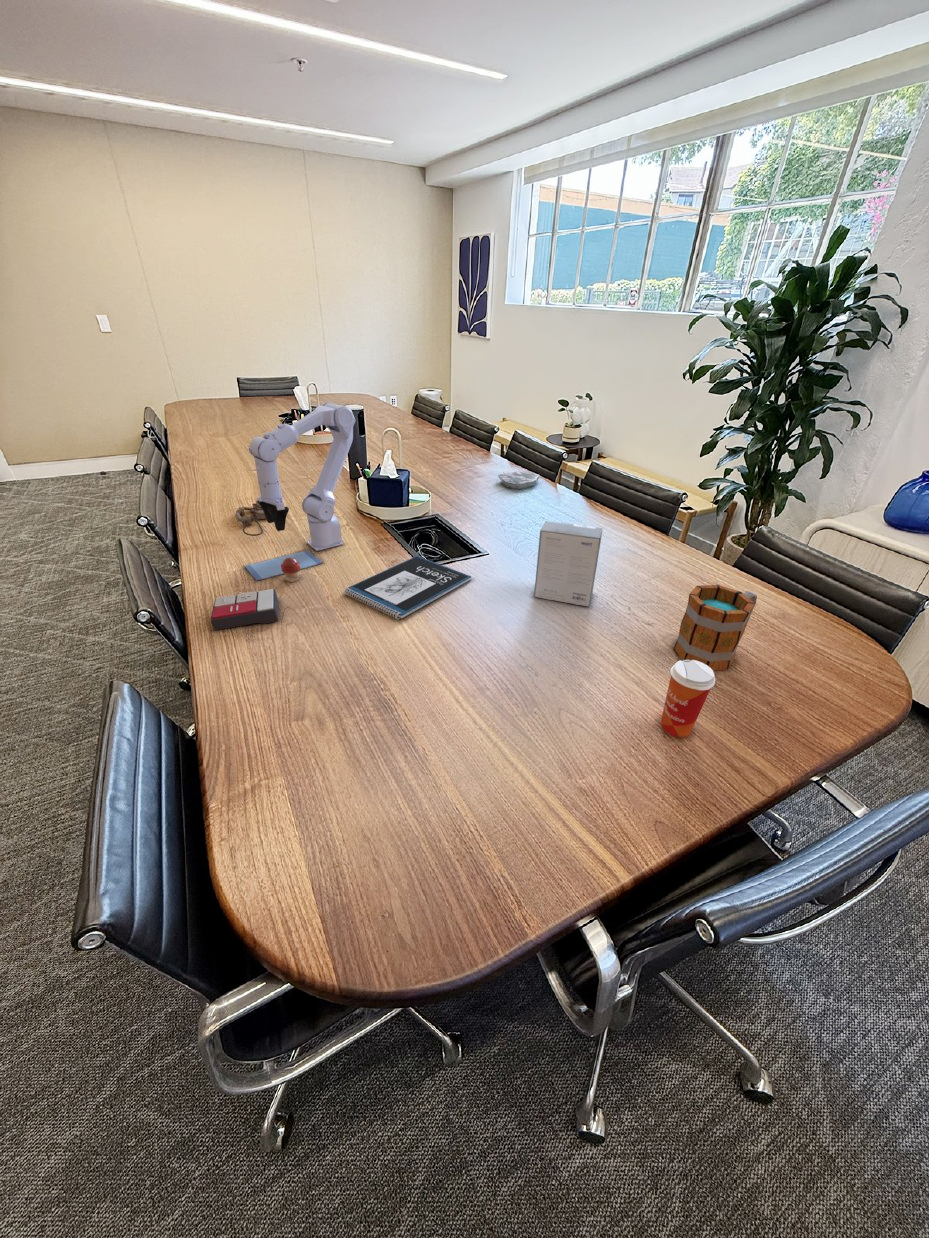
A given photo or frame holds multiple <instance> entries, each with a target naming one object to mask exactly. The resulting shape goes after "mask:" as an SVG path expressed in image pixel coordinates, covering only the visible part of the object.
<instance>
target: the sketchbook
mask: <svg viewBox="0 0 929 1238" xmlns="http://www.w3.org/2000/svg"><path fill="white" fill-rule="evenodd" d="M470 581H472V576H471V575H469V574H466V573H463V572H461V571H458V570H456V569H453V568H450V567H448V566H446V565H443V564H440V563H437V562H435V561H432V560H429V559H428V558H427V559H426V558H424V557H422V556H420V555H415V556H413V557H411V558H409V559H407V560H405V561H402V562H400V563H398V564H396V565H394V566H391V567H389V568H387V569H385V570H383V571H380V572H379V573H376V574H374V575H372V576H370V577H367V578H366V579H363V580H361V581H359V582H356V583H354V584H352V585H350V586H347V587H346V588H344V592H343V593H344V595H346V596H348V597H350V598H352V599H353V600H356V601H358V602H360V603H363V604H365V605H367V606H369V607H371V608H373V609H375V610H377V611H379V612H381V613H383V614H385V615H388V616H390V617H392V618H393V619H396V620H397V621H398V620H402V619H404V618H406V617H408V616H410V615H411V614H413V613H415V612H416V611H419V610H420V609H422V608H424V607H425V606H427V605H430V604H431V603H433V602H434V601H436V600H438V599H440V598H441V597H443V596H445V595H447V594H449V593H450V592H453V591H454V590H456V589H457V588H459V587H461V586H462V585H464V584H466V583H468V582H470Z"/></svg>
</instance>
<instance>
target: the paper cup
mask: <svg viewBox="0 0 929 1238" xmlns="http://www.w3.org/2000/svg"><path fill="white" fill-rule="evenodd" d="M669 673H670V678H669V681H668V682H669V683H668V687H667V690H666V691H667V692H666V697H665V700H664V706H663V709H662V710H663V711H662V714H661V720H660V726H661V729H662V730H663V731H664V732H665V733H667V734H668V735H670V736H672V737H676V738H686V737H688V736H689V735H690V734H691V732H692V731H693V729H694V727H695V725H696V722H697V720H698V718H699V716H700V713H701V712H702V709H703V706H704V705H705V703H706V700H707V698H708V695H709V693H710V692H711V689H712V688H713V687H714V686H715V684H716V678H715V671H714V670H712V669H711V668H710V667H709V666H707V665H706V664H704V663H702V662H699V661H696V660H691V661H690V660H683V661H682V659H680V660H678V661H676V662H675V663H674V665H672V666H671V668H670V670H669Z"/></svg>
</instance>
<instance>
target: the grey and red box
mask: <svg viewBox="0 0 929 1238" xmlns="http://www.w3.org/2000/svg"><path fill="white" fill-rule="evenodd" d="M278 621H279V598H278V595H277V590H276V589H275V588H274V589H273V588H270V589H264V590H259V591H257V590H253V591H248V592H242V593H237V594H230V595H223V596H218V597H216V598H215V599H214V601H213V606H212V612H211V616H210V622H211V625H212V626H211V627H212V628H213V631H219V630H226V629H231V628H236V627H237V628H238V627H241V626H247V625H254V624H262V625H264V624H271V623H276V622H278Z"/></svg>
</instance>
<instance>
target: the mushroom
mask: <svg viewBox="0 0 929 1238" xmlns="http://www.w3.org/2000/svg"><path fill="white" fill-rule="evenodd" d="M281 569H282V572H283V573H285V580H286V582H290V583H291V582H292V583H293V582H298V581H299V580H300V573H299V572H300V571H301V570H302V569H301V567H300V563H299V562H298V561H297V560H296V559H294V558H291V557H289V558H286V559H285V560H284V561H283V563H282V564H281Z"/></svg>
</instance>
